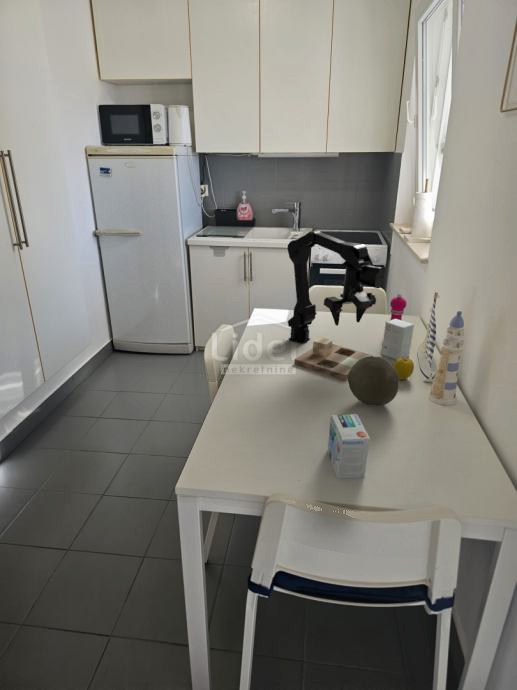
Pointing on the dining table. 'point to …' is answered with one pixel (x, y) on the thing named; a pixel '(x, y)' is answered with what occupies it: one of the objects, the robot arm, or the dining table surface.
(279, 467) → the dining table surface
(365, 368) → the cantaloupe
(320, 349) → the maple block
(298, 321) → the robot arm
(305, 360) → the trap board
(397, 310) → the pepper mill
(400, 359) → the apple
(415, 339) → the dining table surface
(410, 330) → the small box
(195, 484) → the dining table surface
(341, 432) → the light bulb box
